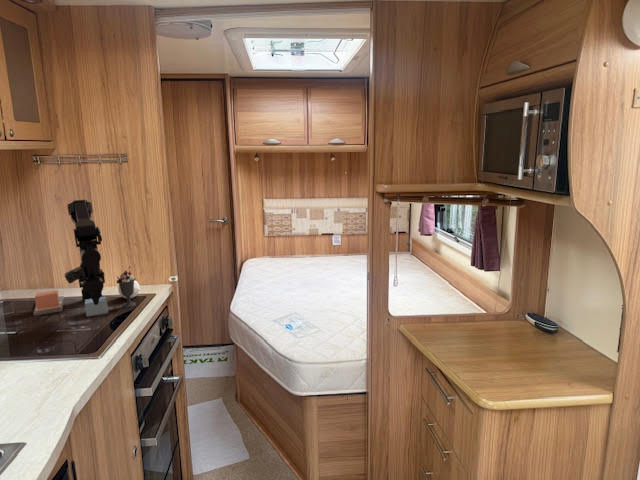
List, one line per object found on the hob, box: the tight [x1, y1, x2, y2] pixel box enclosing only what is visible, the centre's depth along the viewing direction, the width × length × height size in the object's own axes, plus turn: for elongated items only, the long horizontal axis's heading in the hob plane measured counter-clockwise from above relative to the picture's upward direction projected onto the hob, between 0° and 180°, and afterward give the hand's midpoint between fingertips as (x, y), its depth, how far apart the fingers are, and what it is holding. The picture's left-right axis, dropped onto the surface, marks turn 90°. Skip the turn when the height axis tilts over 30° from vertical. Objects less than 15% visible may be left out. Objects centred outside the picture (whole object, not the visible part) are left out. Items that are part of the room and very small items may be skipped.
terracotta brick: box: [34, 289, 60, 310], centre depth 166 cm, size 7×5×5 cm, turn 117°
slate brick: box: [84, 296, 109, 317], centre depth 162 cm, size 7×5×5 cm, turn 116°
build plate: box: [33, 295, 65, 317], centre depth 169 cm, size 9×16×1 cm, turn 27°
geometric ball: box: [117, 280, 140, 299], centre depth 176 cm, size 8×8×8 cm
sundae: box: [116, 265, 137, 309], centre depth 167 cm, size 7×7×15 cm
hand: (95, 300), depth 161 cm, fingers open, 9 cm apart
